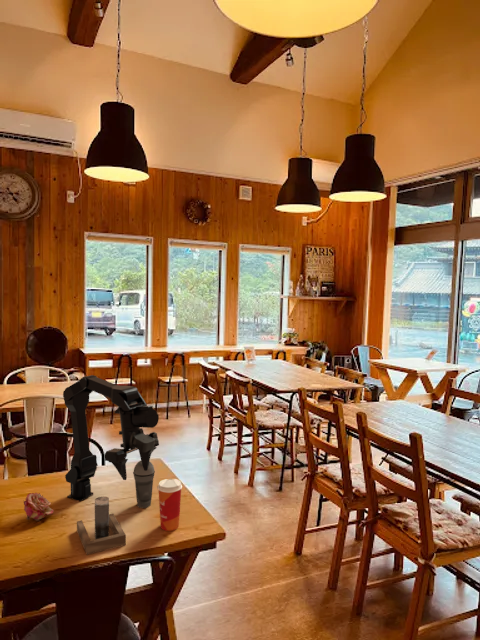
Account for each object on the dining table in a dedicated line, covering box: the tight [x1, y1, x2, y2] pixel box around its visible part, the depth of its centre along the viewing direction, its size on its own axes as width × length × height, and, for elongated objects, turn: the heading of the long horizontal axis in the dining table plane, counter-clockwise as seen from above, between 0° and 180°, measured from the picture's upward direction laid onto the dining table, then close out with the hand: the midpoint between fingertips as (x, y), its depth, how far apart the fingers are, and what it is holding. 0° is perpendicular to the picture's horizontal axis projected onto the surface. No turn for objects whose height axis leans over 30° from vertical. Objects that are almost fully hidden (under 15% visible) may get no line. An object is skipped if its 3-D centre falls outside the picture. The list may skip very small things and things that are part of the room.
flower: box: [23, 492, 54, 522], centre depth 153 cm, size 10×9×8 cm
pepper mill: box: [94, 495, 110, 540], centre depth 140 cm, size 4×4×12 cm
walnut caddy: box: [76, 513, 127, 556], centre depth 142 cm, size 14×11×3 cm
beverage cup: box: [132, 460, 156, 509], centre depth 162 cm, size 7×7×20 cm
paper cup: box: [157, 478, 183, 532], centre depth 148 cm, size 8×8×14 cm
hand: (135, 475), depth 153 cm, fingers open, 9 cm apart
